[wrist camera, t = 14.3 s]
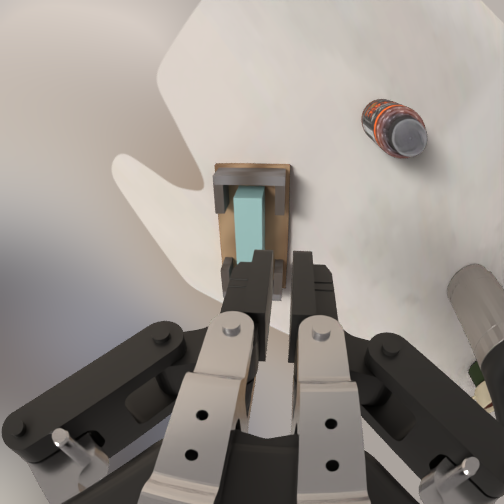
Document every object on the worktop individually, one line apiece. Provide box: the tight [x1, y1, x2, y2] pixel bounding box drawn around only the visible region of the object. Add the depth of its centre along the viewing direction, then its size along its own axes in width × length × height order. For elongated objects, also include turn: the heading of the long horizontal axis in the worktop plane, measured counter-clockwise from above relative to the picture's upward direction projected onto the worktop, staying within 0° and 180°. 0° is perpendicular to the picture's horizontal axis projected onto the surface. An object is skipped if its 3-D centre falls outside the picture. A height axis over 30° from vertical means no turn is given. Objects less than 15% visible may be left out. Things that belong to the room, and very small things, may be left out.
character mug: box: [468, 362, 494, 413], centre depth 53 cm, size 11×7×13 cm, turn 122°
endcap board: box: [213, 163, 290, 301], centre depth 45 cm, size 10×20×4 cm, turn 1°
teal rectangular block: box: [233, 185, 265, 264], centre depth 44 cm, size 4×14×4 cm, turn 1°
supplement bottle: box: [362, 99, 427, 158], centre depth 31 cm, size 6×6×11 cm
